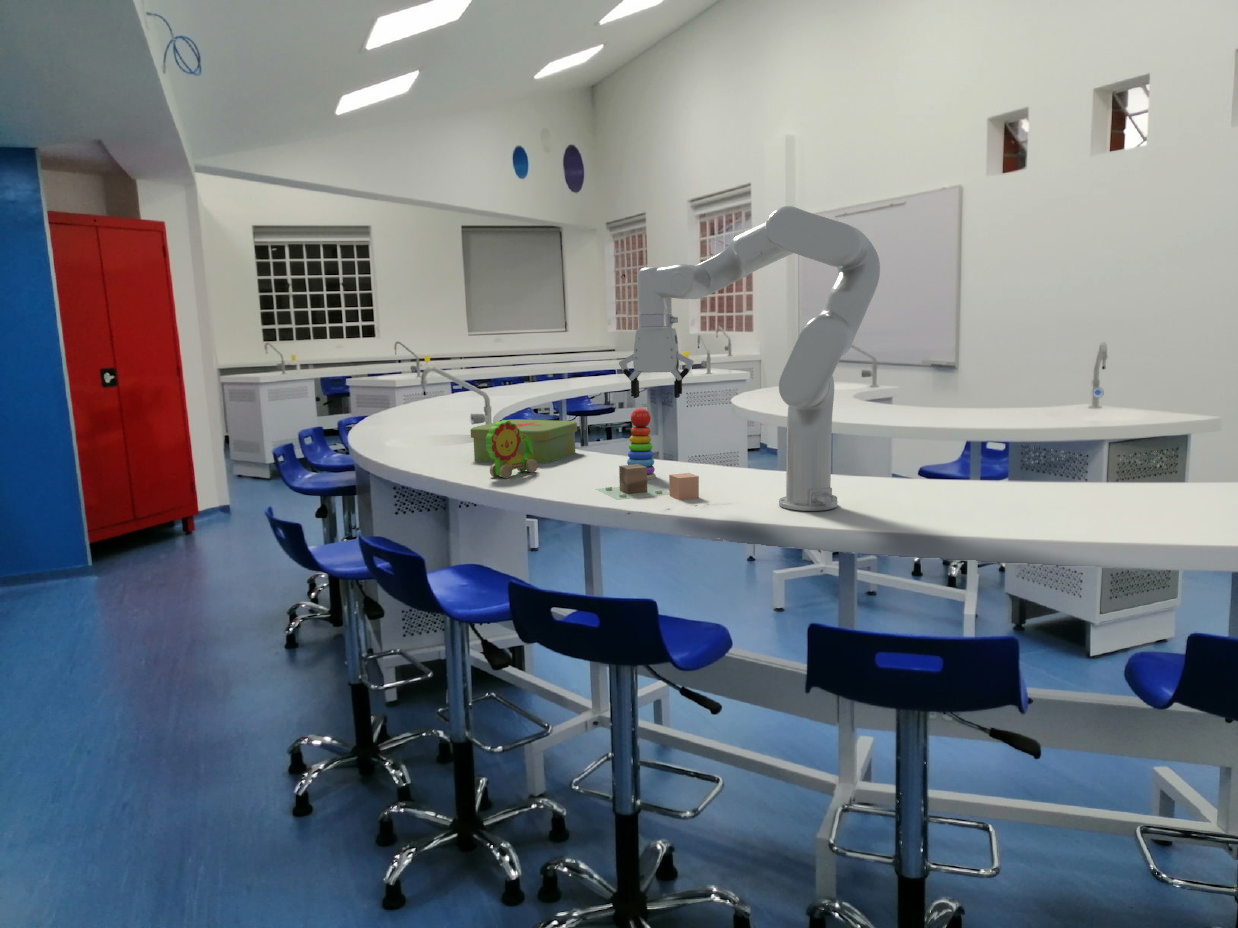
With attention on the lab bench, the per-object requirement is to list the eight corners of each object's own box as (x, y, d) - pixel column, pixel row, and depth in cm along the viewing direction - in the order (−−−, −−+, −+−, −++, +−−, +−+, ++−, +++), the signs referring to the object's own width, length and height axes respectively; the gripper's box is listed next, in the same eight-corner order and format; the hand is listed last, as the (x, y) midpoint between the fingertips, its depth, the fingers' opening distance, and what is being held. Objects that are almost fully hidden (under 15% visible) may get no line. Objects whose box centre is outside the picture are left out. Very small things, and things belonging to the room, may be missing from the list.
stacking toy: (653, 483, 223) (652, 410, 220) (622, 483, 225) (620, 410, 222) (658, 478, 231) (657, 407, 228) (628, 477, 233) (626, 407, 230)
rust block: (698, 502, 201) (698, 476, 200) (678, 504, 199) (678, 478, 198) (689, 498, 205) (688, 472, 204) (669, 500, 203) (669, 474, 202)
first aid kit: (466, 461, 267) (465, 428, 265) (510, 449, 290) (509, 418, 289) (543, 465, 256) (542, 431, 255) (582, 452, 280) (581, 421, 278)
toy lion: (524, 470, 248) (522, 416, 245) (538, 472, 244) (536, 417, 242) (482, 478, 236) (480, 422, 233) (496, 480, 232) (494, 423, 230)
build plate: (672, 498, 205) (672, 491, 205) (616, 503, 200) (616, 496, 200) (648, 487, 218) (648, 481, 218) (595, 493, 213) (595, 486, 213)
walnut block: (647, 492, 208) (646, 467, 207) (627, 494, 206) (627, 468, 205) (639, 488, 212) (638, 464, 211) (619, 490, 210) (619, 465, 209)
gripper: (695, 321, 203) (696, 396, 206) (622, 323, 207) (624, 396, 210) (690, 321, 196) (691, 398, 198) (614, 323, 200) (616, 399, 203)
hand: (656, 397), depth 204 cm, fingers open, 9 cm apart
